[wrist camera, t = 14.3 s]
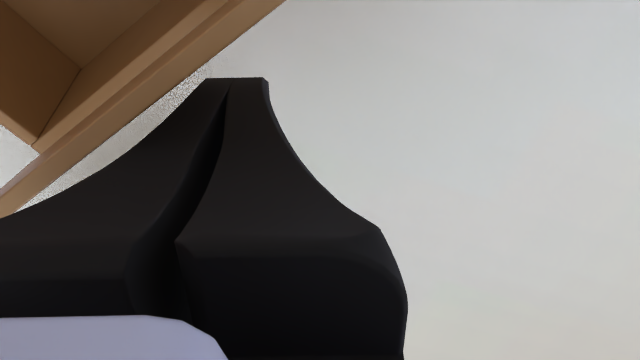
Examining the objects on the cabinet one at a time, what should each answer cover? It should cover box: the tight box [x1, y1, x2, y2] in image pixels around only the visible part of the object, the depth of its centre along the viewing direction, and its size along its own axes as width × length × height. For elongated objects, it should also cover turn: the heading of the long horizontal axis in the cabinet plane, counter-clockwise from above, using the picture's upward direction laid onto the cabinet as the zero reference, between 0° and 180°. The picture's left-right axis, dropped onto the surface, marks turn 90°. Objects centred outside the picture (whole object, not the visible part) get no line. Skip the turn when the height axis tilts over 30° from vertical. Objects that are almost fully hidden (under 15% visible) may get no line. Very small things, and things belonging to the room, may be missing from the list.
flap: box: [0, 0, 286, 218], centre depth 11 cm, size 13×5×1 cm
